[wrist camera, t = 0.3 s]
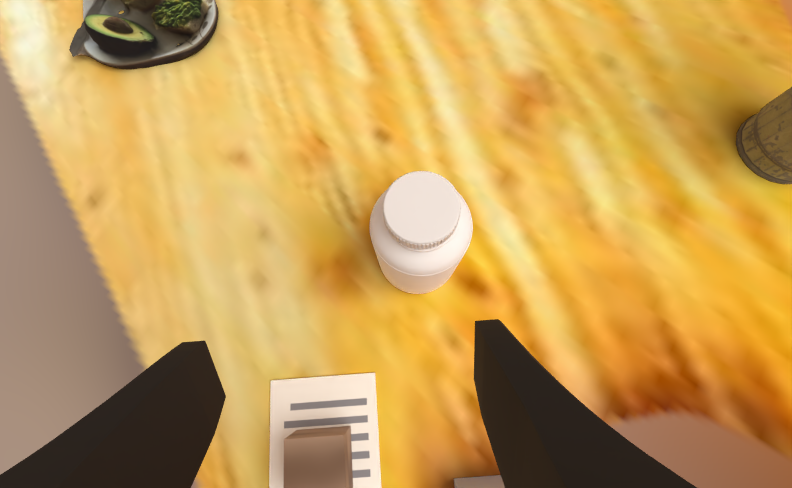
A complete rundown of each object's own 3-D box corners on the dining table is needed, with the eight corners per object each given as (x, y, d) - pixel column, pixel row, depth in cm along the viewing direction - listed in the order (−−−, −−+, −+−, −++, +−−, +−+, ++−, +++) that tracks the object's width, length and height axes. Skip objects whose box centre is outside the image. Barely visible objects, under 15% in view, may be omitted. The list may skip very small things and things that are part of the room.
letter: (384, 542, 33) (384, 543, 33) (269, 551, 33) (268, 552, 33) (375, 372, 37) (374, 372, 37) (271, 380, 37) (270, 380, 37)
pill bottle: (363, 269, 40) (340, 223, 26) (405, 207, 42) (404, 131, 27) (429, 311, 39) (444, 287, 24) (469, 245, 40) (505, 186, 26)
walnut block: (353, 486, 34) (346, 503, 31) (297, 491, 34) (283, 508, 31) (350, 425, 36) (344, 434, 32) (296, 429, 36) (283, 439, 32)
